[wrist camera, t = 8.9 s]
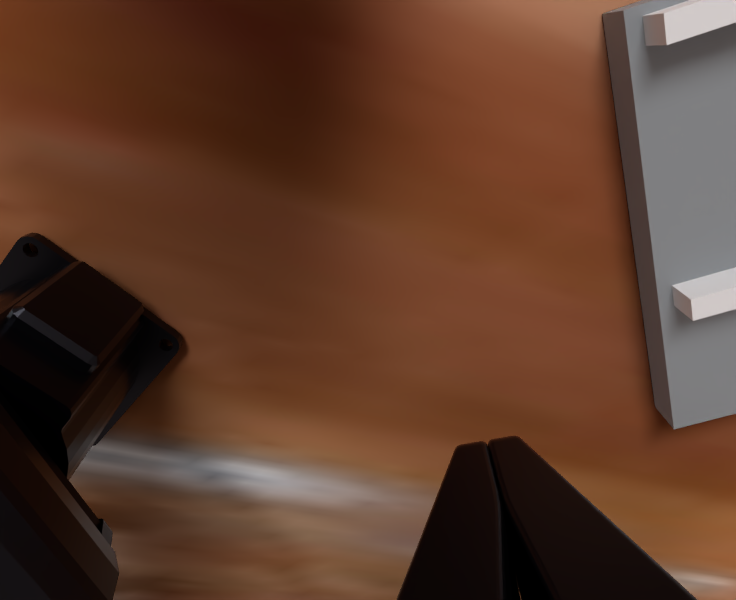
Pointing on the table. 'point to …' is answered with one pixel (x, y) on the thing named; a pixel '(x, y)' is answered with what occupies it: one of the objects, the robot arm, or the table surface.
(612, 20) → the switch board
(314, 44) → the table surface
